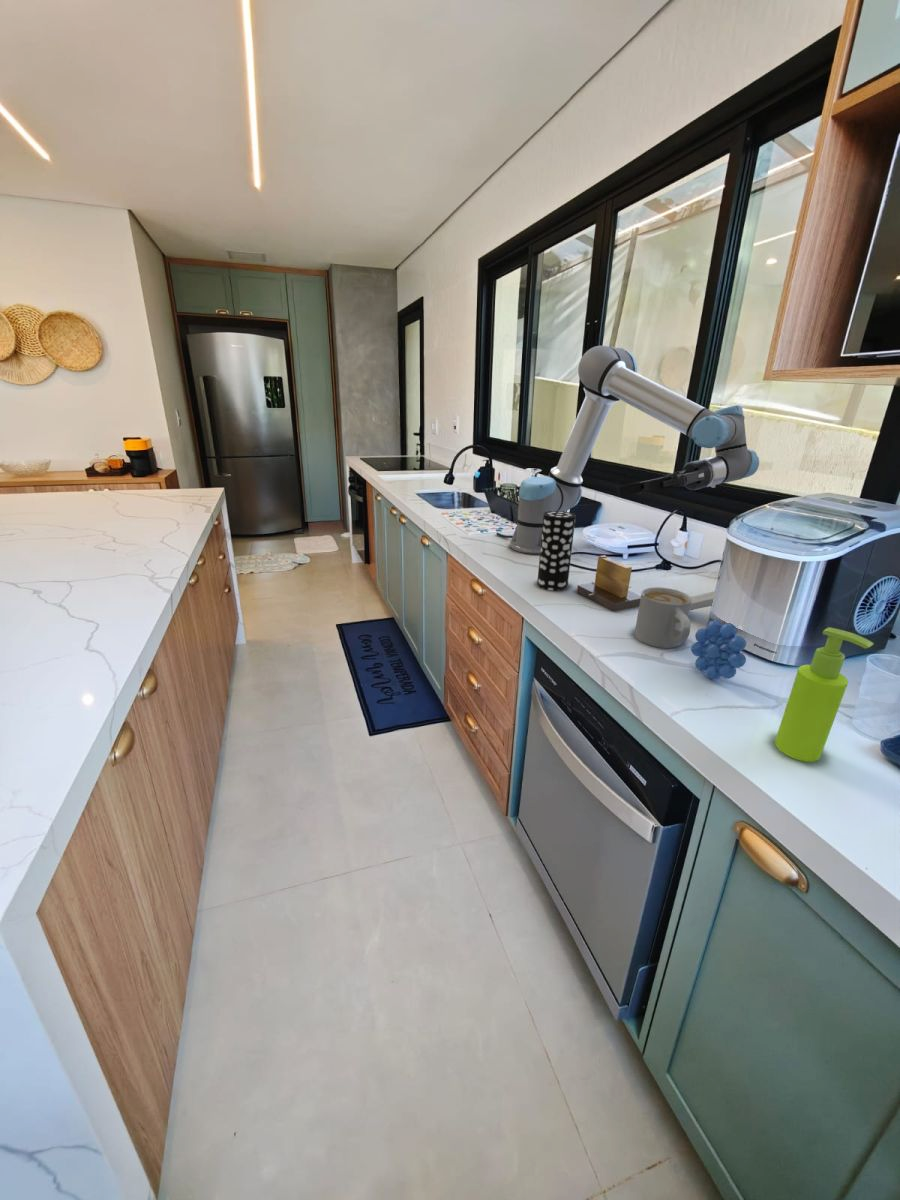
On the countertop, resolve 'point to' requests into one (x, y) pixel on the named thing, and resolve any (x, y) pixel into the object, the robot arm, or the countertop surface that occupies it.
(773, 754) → the countertop surface
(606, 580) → the golden brown rectangular block
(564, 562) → the white-spotted black cylinder
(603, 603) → the dark brown flat slab
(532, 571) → the countertop surface
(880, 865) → the countertop surface
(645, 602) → the coffee mug
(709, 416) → the robot arm
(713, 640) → the blue bumpy cluster
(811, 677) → the soap dispenser
